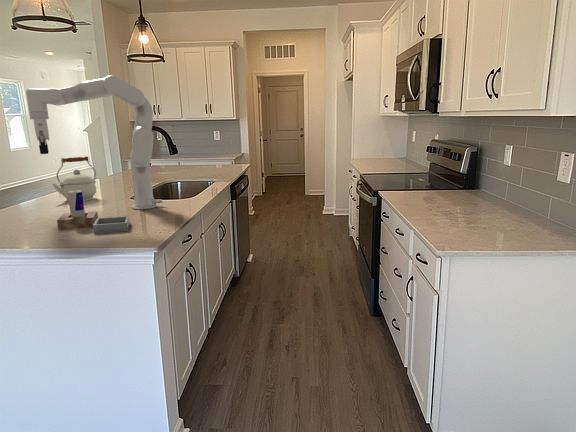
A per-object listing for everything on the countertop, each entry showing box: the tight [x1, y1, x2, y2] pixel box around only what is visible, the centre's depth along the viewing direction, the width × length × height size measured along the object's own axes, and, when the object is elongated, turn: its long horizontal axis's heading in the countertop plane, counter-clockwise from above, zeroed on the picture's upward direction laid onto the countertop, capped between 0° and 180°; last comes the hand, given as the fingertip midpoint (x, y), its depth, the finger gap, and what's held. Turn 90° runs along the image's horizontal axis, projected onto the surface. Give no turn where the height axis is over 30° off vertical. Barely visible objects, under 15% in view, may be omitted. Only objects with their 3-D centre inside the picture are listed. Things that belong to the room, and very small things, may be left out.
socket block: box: [56, 210, 99, 230], centre depth 179 cm, size 14×14×4 cm
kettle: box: [51, 156, 97, 202], centre depth 233 cm, size 25×18×25 cm
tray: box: [92, 215, 130, 234], centre depth 171 cm, size 13×13×4 cm
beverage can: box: [68, 190, 86, 218], centre depth 178 cm, size 6×6×15 cm
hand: (44, 153), depth 191 cm, fingers open, 9 cm apart
